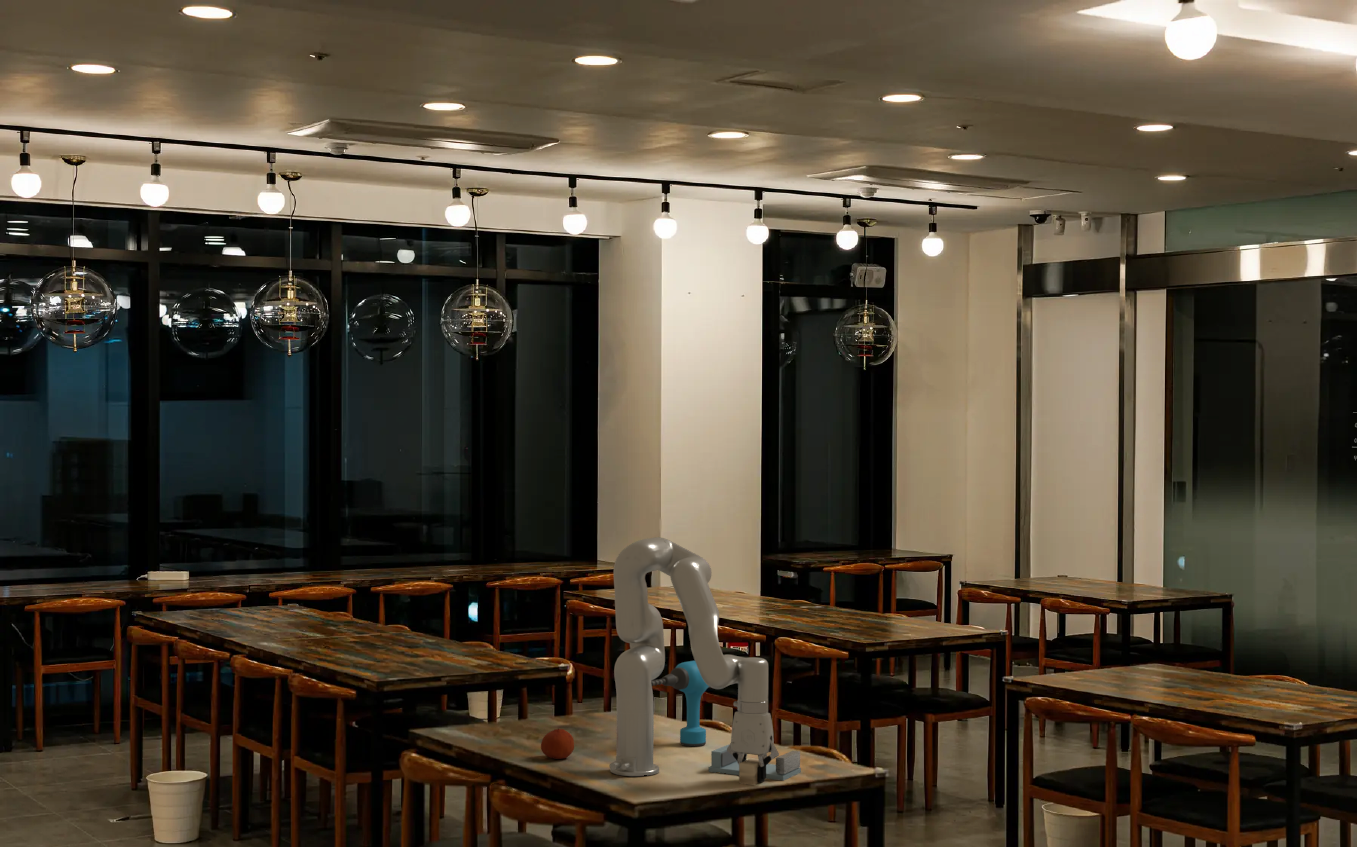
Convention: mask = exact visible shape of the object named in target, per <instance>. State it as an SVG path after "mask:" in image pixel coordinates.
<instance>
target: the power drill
mask: <svg viewBox="0 0 1357 847" xmlns="http://www.w3.org/2000/svg"><path fill="white" fill-rule="evenodd" d="M651 685H652V687H653V686H657V685H658V686H661V685H663V686H664V687H665V686H666V687H673V689H675V690H677V691H680V692H683V693H684V694H685V698H686V726H685V727H682V728H680V730H679V744H680V745H682V746H685V747H700V746H701V747H702V746H704V745H706V743H707V729H706V728H704V727H702V726H700V713H701V712H700V711H701V709H700V708H701V707H700V706H701V698H702V696H703V694H704V693H705V692H706V691H707V689H709V688H710V687H709V686H708V685H707V684H706V683H705V682H704V680H703V678H702V676H701V674H700V672H699V669H698V667H697V664H696V662H695V660H690V661H684V662H681V663H678V664H677V665H676V666H675V667H674V668H673V669H672V670H671V671H670V673H668V674H666V675H665V676H662V678H659V679H657V678H656V679H653V680H651Z"/></svg>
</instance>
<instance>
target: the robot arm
mask: <svg viewBox="0 0 1357 847" xmlns="http://www.w3.org/2000/svg"><path fill="white" fill-rule="evenodd" d="M656 571H659V572H661V573H664V574H665V575H666V576H668V577H669V578H670V581H671V584H672V586H673V589H674V592H675V594H676V596H677V600H678V602H679V604H680V606H681V609H682V612H683V614H684V617H685V620H686V623H687V626H688V635H689V636H688V637H689V641H690V642H689V643H690V647H691V648H690V649H691V652H692V656H693V659H694V661H695V662H696V664H697V667H698V669H699V672H700V674H701V676H702V678H703V680H704V682H705V683H706V684H707V685H708V686H709V688H712V689H715V690H722V689H724V688H726V687H728V686H730V685H734V684H737V688H738V689H737V693H738V694H737V701H736V700H735V701H733V703H732V704H733V707H736V708H737V711H735V712H734V715H733V721H732V727H731V736H730V744H728V745H729V746H728V748H727V751H728V752H729V753H730V754H732V755H733V757H734V758H735V759H736V760H737V763H738V764H739V763H741V762H744V761H746V760H748V755H752V756H753V755H755V756H757V759H759V767H758V768H757V782H758V783H757V784H761V783H762V782H765V781H766V780H765V778H766V765H768V764H770V762H771V761H772V760H773V759H776V758H777V757H779V756H780V752H779V751H778V748H777V747H776V745H775V744H774V741H775V739H774V728H773V727H774V726H773V720H772V715H771V713H770V712H769V662H768V661H767V659H765V658H763V657H754V656H753V657H744V656H737V655H734V654H723V650H722V648H721V646H720V642H719V641H720V640H719V637H718V626H719V620H720V611H719V607H718V606H717V602H716V600H715V598H714V596H713V593H712V591H711V588H710V586H709V583H710V581H711V579H712V568H711V565H710V564H709V562H708V561H707V560H706V559H705V558H704V557H702V556H700V555H699V554H697V553H695V552H692V551H691V550H690V549H687V548H686V547H683V546H680V545H679V544H677V543H676V542H673V541H671V540H670V539H667V538H664V537H659V536H657V537H656V536H655V537H650V538H648V537H647V538H643V539H639V540H637V541H634V542H632V543H631V544H629V545H627V546H626V547H625V548H623V549H622V550H621V551H620V552H619V553H618V555H617V557H616V559H615V561H614V566H613V587H614V607H615V608H614V609H615V611H614V612H615V627H616V633H617V636H618V637H619V639H620V640H621V641H623V642H625V643H628V644H629V649H627V650H625V651H624V652H622V653H620V655H619V656H618V657H617V658H616V661H615V663H614V667H613V668H614V670H613V672H614V673H613V675H614V681H615V689H616V690H615V691H616V745H615V746H616V752H615V755H616V756H615V761H614V762H610V763H609V770H610V773H612V774H614V775H617V776H623V777H624V776H625V777H645V776H644V775H647V776H652V775H655V774H658V773H659V772H660V766H659V765H657V764H655V763H654V735H655V734H654V730H655V729H654V727H655V726H654V725H655V723H654V721H655V720H654V718H655V717H654V715H655V713H654V706H655V705H654V694H653V693H654V692H653V686H652V685H651V681H652V680H656V679H657V678H658V677H659V676H660V675H661V674H662V672H664V671H663V670H664V669H665V664H666V663H665V662H666V651H665V636H664V624H663V623H664V622H663V619H662V616H661V613H660V611H659V610H658V609H657V608H656V607H655V606H654V605H653V604H650V603H649V598H648V595H649V594H648V586H647V585H648V584H647V582H646V575H647V573H651V572H656ZM768 753H770V754H769V755H768Z"/></svg>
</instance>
